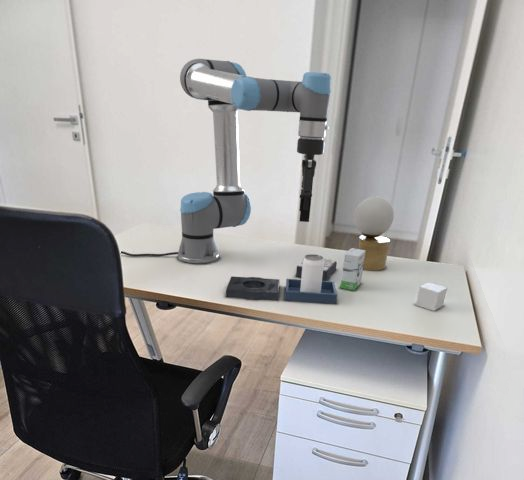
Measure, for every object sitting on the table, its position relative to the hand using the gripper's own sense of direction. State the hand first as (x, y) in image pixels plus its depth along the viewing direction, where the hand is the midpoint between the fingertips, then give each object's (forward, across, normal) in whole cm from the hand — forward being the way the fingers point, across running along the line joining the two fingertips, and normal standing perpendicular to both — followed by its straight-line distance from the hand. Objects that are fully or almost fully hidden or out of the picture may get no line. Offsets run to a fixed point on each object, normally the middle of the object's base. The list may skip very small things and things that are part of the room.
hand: (303, 216), depth 132 cm
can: (+23, -5, -4) cm, 24 cm away
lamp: (+24, +31, -27) cm, 47 cm away
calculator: (+24, +17, -7) cm, 30 cm away
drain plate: (+24, -5, +14) cm, 28 cm away
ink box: (+24, +6, -18) cm, 30 cm away
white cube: (+23, -7, -41) cm, 48 cm away
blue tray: (+23, -5, -4) cm, 24 cm away
